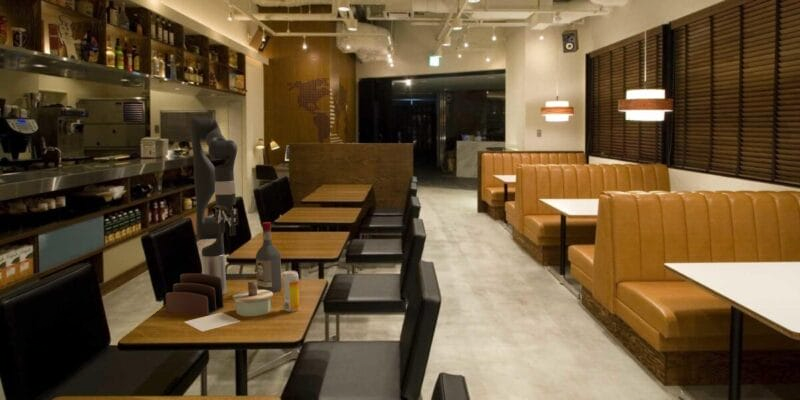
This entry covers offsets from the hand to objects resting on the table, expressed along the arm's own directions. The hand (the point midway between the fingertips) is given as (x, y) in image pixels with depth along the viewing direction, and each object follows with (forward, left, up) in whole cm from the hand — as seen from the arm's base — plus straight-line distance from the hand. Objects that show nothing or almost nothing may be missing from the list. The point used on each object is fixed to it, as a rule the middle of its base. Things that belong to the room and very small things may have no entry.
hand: (227, 234), depth 231 cm
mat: (+10, -13, -30) cm, 34 cm away
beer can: (+18, +16, -30) cm, 39 cm away
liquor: (-13, +25, -30) cm, 41 cm away
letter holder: (-9, -11, -30) cm, 34 cm away
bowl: (+10, +4, -30) cm, 32 cm away
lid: (+10, +4, -24) cm, 26 cm away
